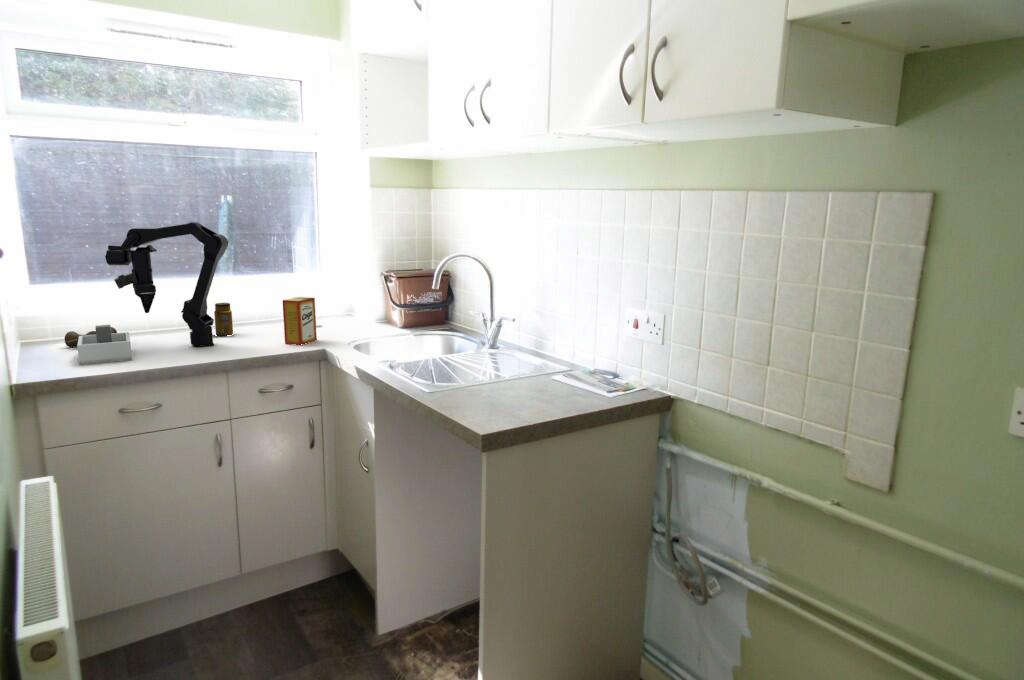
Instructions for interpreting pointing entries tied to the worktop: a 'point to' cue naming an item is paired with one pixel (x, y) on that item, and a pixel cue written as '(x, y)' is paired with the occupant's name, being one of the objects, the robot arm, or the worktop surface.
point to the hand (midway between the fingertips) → (146, 311)
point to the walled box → (104, 349)
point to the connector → (103, 334)
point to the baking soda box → (299, 320)
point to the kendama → (73, 337)
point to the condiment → (223, 319)
